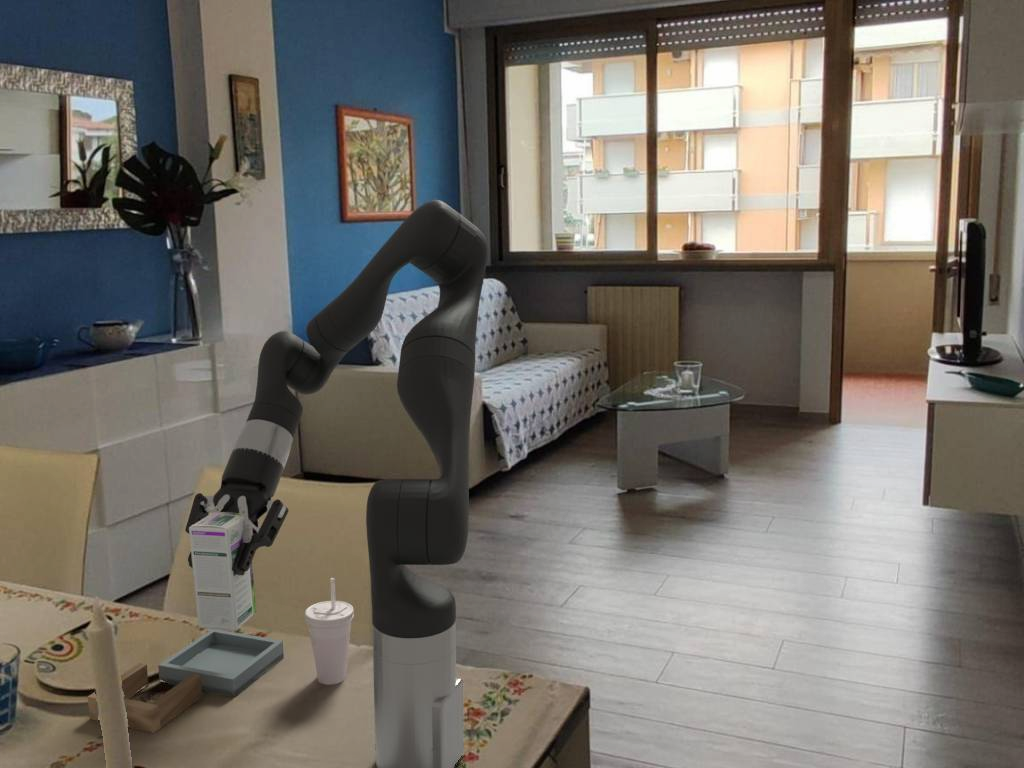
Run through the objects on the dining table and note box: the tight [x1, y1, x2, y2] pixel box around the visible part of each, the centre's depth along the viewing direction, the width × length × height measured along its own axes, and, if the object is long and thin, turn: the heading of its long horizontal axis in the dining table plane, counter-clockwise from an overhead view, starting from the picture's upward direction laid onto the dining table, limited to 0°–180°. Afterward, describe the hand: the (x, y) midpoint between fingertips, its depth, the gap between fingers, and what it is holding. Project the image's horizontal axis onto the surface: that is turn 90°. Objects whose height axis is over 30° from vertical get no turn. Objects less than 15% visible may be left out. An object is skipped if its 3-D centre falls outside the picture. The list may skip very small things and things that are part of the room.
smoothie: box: [304, 577, 355, 686], centre depth 128 cm, size 6×6×14 cm
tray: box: [157, 629, 285, 698], centre depth 131 cm, size 12×12×2 cm
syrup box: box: [188, 512, 257, 632], centre depth 129 cm, size 6×6×14 cm
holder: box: [87, 662, 203, 734], centre depth 122 cm, size 10×9×3 cm
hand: (215, 570), depth 128 cm, fingers closed on syrup box, 6 cm apart
